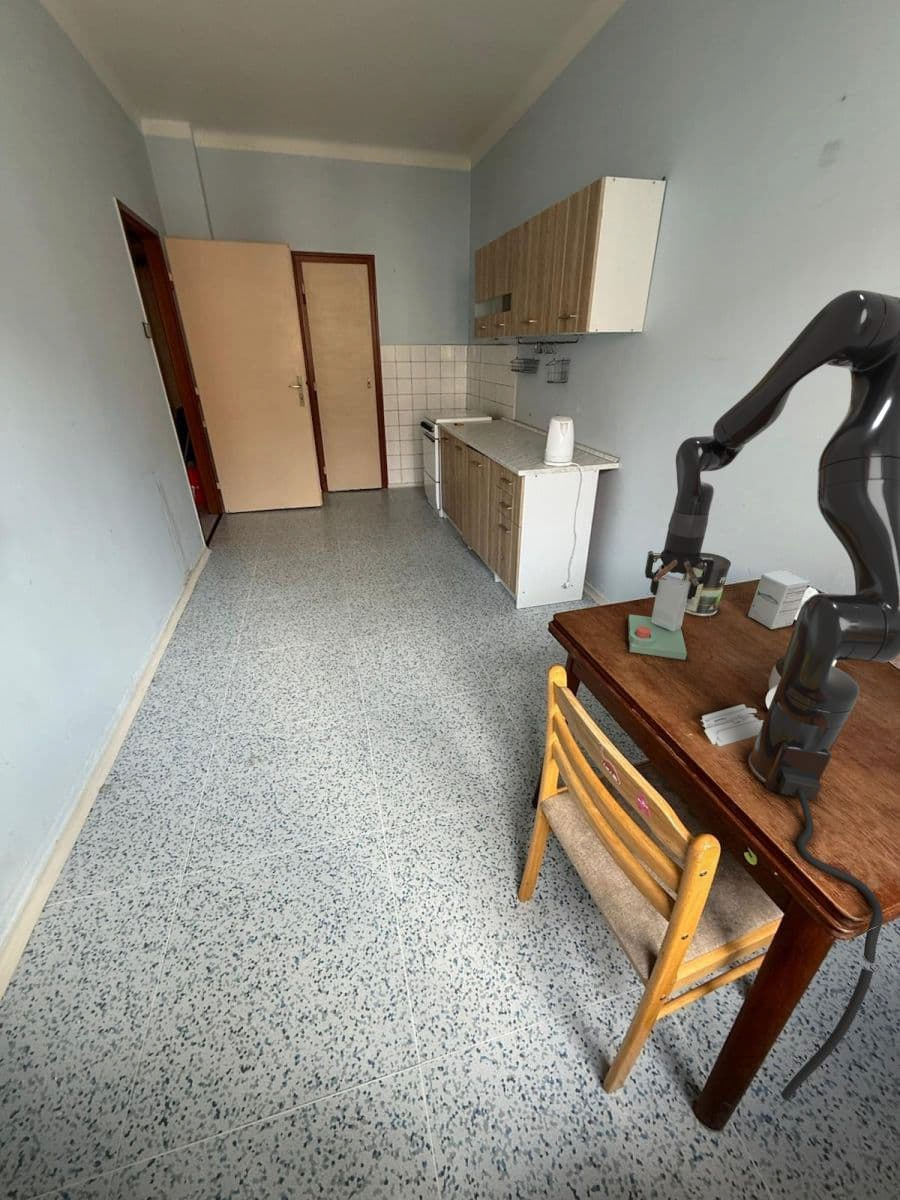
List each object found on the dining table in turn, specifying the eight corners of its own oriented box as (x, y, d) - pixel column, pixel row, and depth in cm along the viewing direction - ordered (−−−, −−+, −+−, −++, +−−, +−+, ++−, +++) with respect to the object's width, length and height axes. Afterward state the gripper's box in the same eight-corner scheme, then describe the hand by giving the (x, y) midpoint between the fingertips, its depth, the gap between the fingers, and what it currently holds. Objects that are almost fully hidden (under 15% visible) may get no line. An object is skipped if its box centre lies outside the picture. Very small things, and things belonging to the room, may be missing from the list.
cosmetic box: (682, 626, 115) (693, 581, 109) (672, 632, 112) (683, 587, 107) (658, 616, 119) (668, 573, 113) (648, 622, 117) (658, 578, 111)
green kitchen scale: (685, 660, 107) (688, 647, 106) (627, 651, 111) (629, 639, 109) (677, 626, 120) (680, 615, 118) (626, 620, 123) (628, 608, 122)
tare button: (649, 640, 109) (651, 633, 108) (636, 638, 110) (637, 631, 109) (648, 633, 112) (650, 627, 111) (635, 631, 113) (636, 625, 112)
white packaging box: (746, 616, 124) (760, 572, 118) (768, 611, 126) (783, 568, 120) (770, 630, 118) (787, 585, 112) (793, 625, 120) (810, 580, 114)
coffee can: (718, 603, 130) (732, 556, 124) (715, 620, 123) (729, 570, 116) (678, 595, 135) (689, 549, 128) (672, 610, 127) (684, 562, 121)
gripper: (653, 533, 103) (640, 599, 111) (725, 538, 99) (707, 607, 107) (650, 522, 109) (638, 585, 117) (719, 527, 106) (702, 592, 113)
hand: (671, 595), depth 112 cm, fingers closed on cosmetic box, 7 cm apart
